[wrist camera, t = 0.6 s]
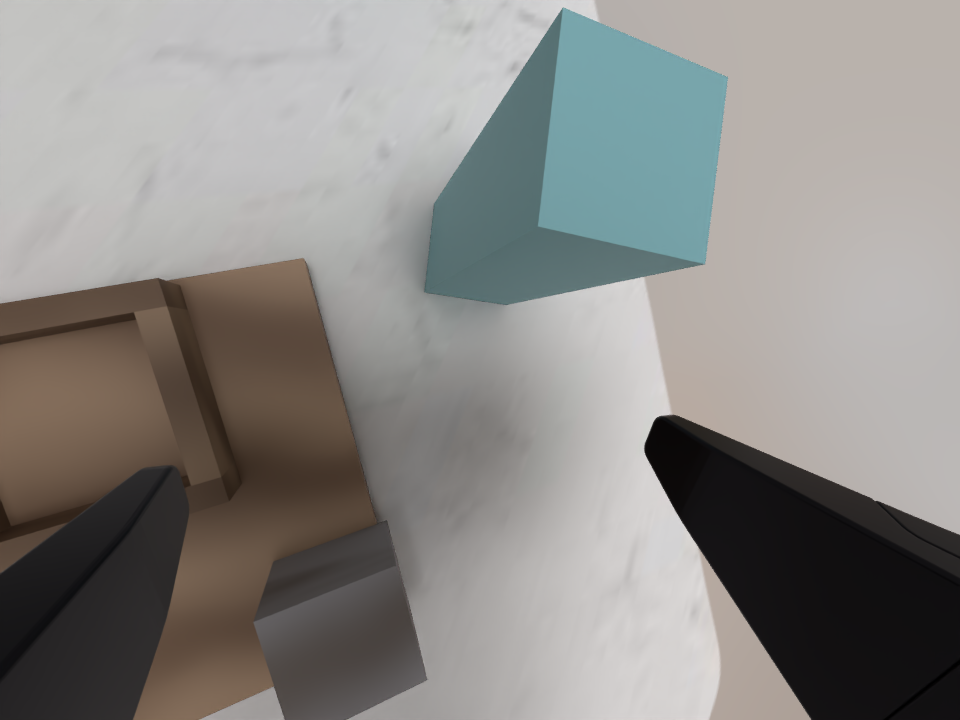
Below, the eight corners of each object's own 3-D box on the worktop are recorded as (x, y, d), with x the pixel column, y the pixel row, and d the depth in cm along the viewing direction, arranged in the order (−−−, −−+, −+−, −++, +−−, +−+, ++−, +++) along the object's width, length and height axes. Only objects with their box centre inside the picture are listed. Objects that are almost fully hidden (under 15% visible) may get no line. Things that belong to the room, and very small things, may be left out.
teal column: (506, 304, 22) (705, 264, 10) (424, 292, 21) (537, 225, 8) (515, 222, 22) (727, 77, 10) (434, 203, 21) (563, 7, 8)
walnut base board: (409, 604, 21) (430, 690, 16) (74, 748, 17) (-45, 928, 12) (318, 262, 19) (307, 234, 14) (-94, 331, 15) (-330, 328, 10)
